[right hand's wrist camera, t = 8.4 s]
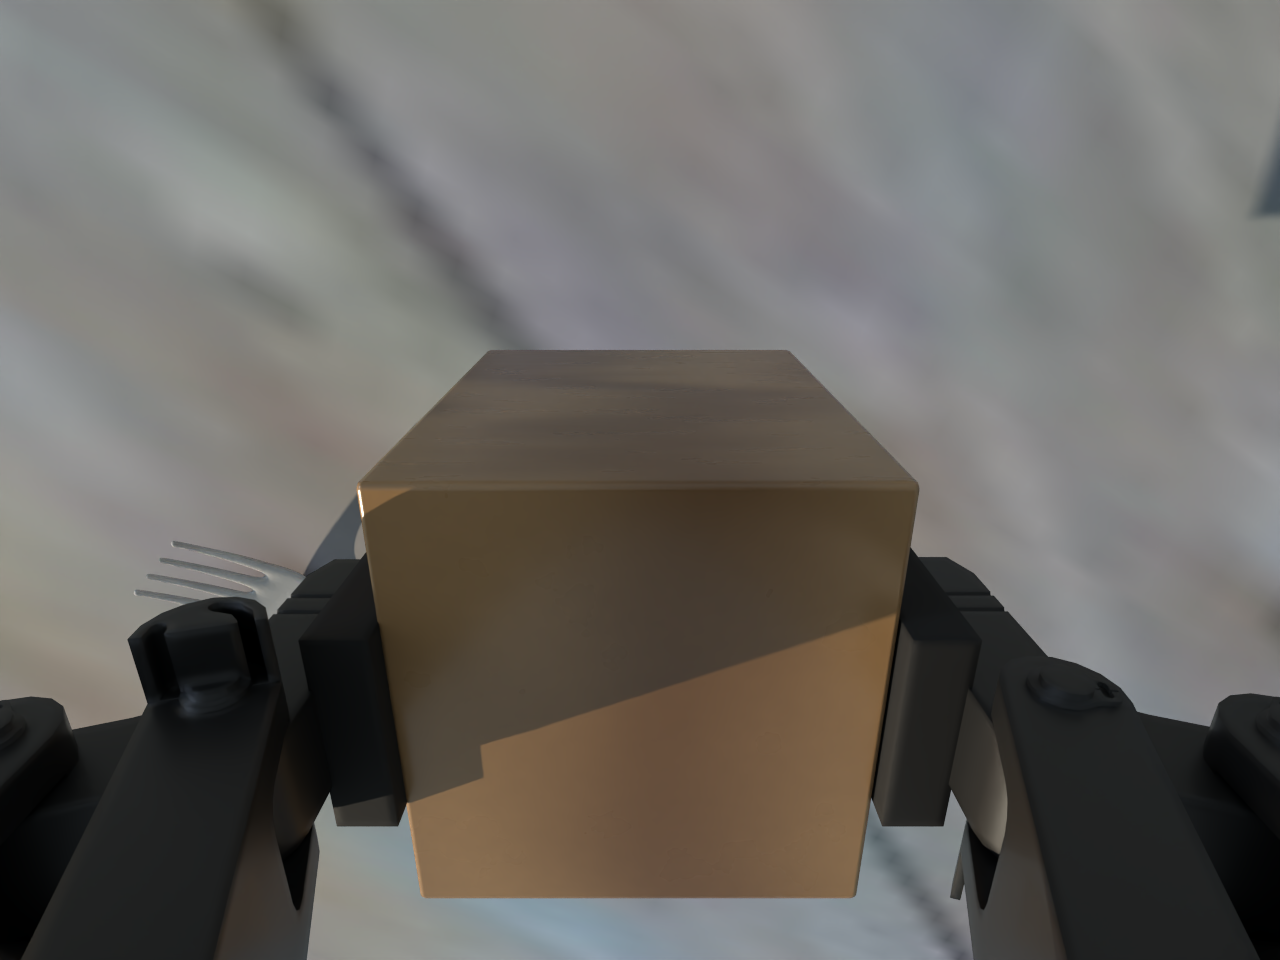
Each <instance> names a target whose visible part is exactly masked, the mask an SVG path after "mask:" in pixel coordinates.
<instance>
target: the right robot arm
mask: <svg viewBox="0 0 1280 960" xmlns="http://www.w3.org/2000/svg"><path fill="white" fill-rule="evenodd" d="M128 643H129V646H130V649H131V652H132V655H133V658H134V662H135V665H136V668H137V671H138V674H139V678H140V681H141V684H142V687H143V690H144V694H145V697H146V700H147V703H148V704H147V706H146V708H145V710H144V712H143V714H142V715H141V716H137V717H134V718H129V719H124V720H119V721H114V722H109V723H104V724H99V725H94V726H89V727H84V728H79V729H74V730H72V729H71V726H70V723H69V721H68V718H67V715H66V713H65V710H64V707H63V706H62V705H60V704H59V703H58V702H56V701H55V700H53V699H51V698H40V697H25V698H18V699H11V700H2V701H0V960H307V952H308V944H309V935H310V927H311V919H312V910H313V902H314V894H315V885H316V877H317V869H318V861H319V845H318V839H317V834H316V829H315V825H314V821H315V819H316V817H317V815H318V813H319V811H320V810H321V808H322V806H323V804H324V802H325V800H326V798H327V796H328V794H329V792H330V795H331V800H332V805H333V809H334V814H335V819H336V824H337V826H398V825H399V823H400V820H401V817H402V815H403V812H404V810H405V807H406V804H407V800H406V793H405V787H404V781H403V774H402V768H401V762H400V756H399V749H398V743H397V737H396V730H395V724H394V718H393V711H392V705H391V699H390V692H389V686H388V680H387V673H386V667H385V661H384V654H383V648H382V642H381V635H380V629H379V623H378V621H377V615H376V609H375V603H374V596H373V590H372V584H371V577H370V571H369V565H368V558H367V552H366V553H365V554H364V556H363V557H362V558H361V559H334V560H333V561H331V562H329V563H328V564H326V565H324V566H323V567H321V568H319V569H318V570H316V571H314V572H312V573H311V574H309V575H307V576H306V578H305V579H304V580H303V581H302V582H301V583H300V584H299V586H298V587H297V588H296V589H295V590H294V591H293V592H292V593H291V598H287V599H286V600H285V601H284V603H283V604H282V605H281V606H280V607H279V608H278V609H277V614H273V615H272V616H271V617H270V618H269V620H268V615H267V611H266V607H265V606H263V605H262V604H260V603H259V602H257V601H256V600H253V599H248V598H242V597H219V598H210V599H206V600H201V601H196V602H192V603H187V604H185V605H182V606H179V607H177V608H174V609H171V610H169V611H166V612H164V613H161V614H160V615H158V616H156V617H155V618H153V619H151V620H149V621H148V622H146V623H144V624H143V625H141V626H140V627H139V628H138V629H137V630H136V631H135V632H134V633H133V634H132V635H131V636H130V637H129V638H128ZM951 790H952V792H953V793H954V795H955V797H956V799H957V801H958V803H959V805H960V807H961V809H962V811H963V813H964V814H965V816H966V818H967V820H966V825H965V829H964V834H963V838H962V843H961V847H960V851H959V856H958V860H957V865H956V869H955V874H954V878H953V883H952V889H951V896H950V898H954V899H958V900H960V898H961V894H962V890H963V886H964V884H965V892H966V900H967V908H968V917H969V925H970V933H971V941H972V950H973V958H974V960H1280V697H1272V696H1265V695H1258V694H1251V693H1250V694H1240V695H1230V696H1229V697H1227V698H1226V699H1224V700H1223V701H1221V702H1220V703H1219V704H1218V706H1217V709H1216V712H1215V714H1214V717H1213V720H1212V723H1211V725H1210V727H1208V726H1203V725H1198V724H1193V723H1188V722H1183V721H1178V720H1173V719H1168V718H1163V717H1158V716H1152V715H1148V714H1144V713H1140V712H1137V711H1136V709H1135V707H1134V705H1133V703H1132V702H1131V700H1130V699H1129V698H1128V697H1127V695H1126V694H1125V693H1124V692H1123V691H1122V689H1121V688H1120V687H1118V686H1117V685H1116V684H1114V683H1113V682H1111V681H1110V680H1108V679H1107V678H1105V677H1104V676H1103V675H1101V674H1099V673H1097V672H1095V671H1092V670H1090V669H1088V668H1086V667H1083V666H1081V665H1079V664H1077V663H1073V662H1069V661H1065V660H1061V659H1057V658H1053V657H1048V656H1047V655H1046V654H1045V653H1044V652H1043V651H1042V650H1041V648H1040V647H1039V646H1038V645H1037V644H1036V643H1035V642H1034V641H1033V639H1032V638H1031V637H1030V636H1029V635H1028V634H1027V633H1026V632H1025V630H1024V629H1023V628H1022V627H1021V626H1020V625H1019V624H1018V623H1017V621H1016V620H1015V619H1014V618H1013V617H1012V616H1011V615H1010V614H1009V612H1005V611H1004V607H1003V606H1002V605H1001V603H1000V602H999V601H998V600H997V599H996V598H995V597H994V596H991V595H990V591H989V590H988V589H987V588H986V586H985V585H984V584H983V583H982V582H981V581H980V580H979V579H978V577H977V576H976V575H975V574H974V573H973V572H971V571H969V570H967V569H966V568H964V567H962V566H961V565H959V564H957V563H955V562H954V561H952V560H950V559H949V558H947V557H918V556H917V555H916V554H915V553H914V551H913V550H912V549H911V547H910V552H909V559H908V565H907V572H906V578H905V584H904V591H903V597H902V604H901V610H900V616H899V623H898V629H897V636H896V642H895V648H894V655H893V661H892V668H891V674H890V680H889V687H888V693H887V699H886V706H885V712H884V719H883V725H882V731H881V738H880V744H879V751H878V757H877V763H876V770H875V776H874V783H873V789H872V795H871V798H872V801H873V803H874V806H875V808H876V811H877V814H878V816H879V819H880V821H881V824H882V826H944V821H945V816H946V812H947V807H948V802H949V797H950V793H951Z"/></svg>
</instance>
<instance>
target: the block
mask: <svg viewBox="0 0 1280 960" xmlns="http://www.w3.org/2000/svg"><path fill="white" fill-rule="evenodd" d="M356 489H357V495H358V502H359V508H360V514H361V521H362V527H363V533H364V540H365V546H366V552H367V558H368V565H369V571H370V577H371V584H372V590H373V596H374V603H375V609H376V615H377V621H378V623H379V629H380V635H381V642H382V648H383V654H384V661H385V667H386V673H387V680H388V686H389V692H390V699H391V705H392V711H393V718H394V724H395V730H396V737H397V743H398V749H399V756H400V762H401V768H402V774H403V781H404V787H405V793H406V800H407V810H408V817H409V823H410V829H411V836H412V842H413V848H414V855H415V861H416V867H417V873H418V880H419V886H420V892H421V896H422V897H424V898H852V897H855V895H856V891H857V885H858V879H859V872H860V866H861V859H862V853H863V847H864V840H865V834H866V827H867V821H868V815H869V808H870V802H871V795H872V789H873V783H874V776H875V770H876V763H877V757H878V751H879V744H880V738H881V731H882V725H883V719H884V712H885V706H886V699H887V693H888V687H889V680H890V674H891V668H892V661H893V655H894V648H895V642H896V636H897V629H898V623H899V616H900V610H901V604H902V597H903V591H904V584H905V578H906V572H907V565H908V559H909V552H910V546H911V540H912V533H913V527H914V520H915V514H916V508H917V501H918V495H919V485H918V482H917V481H916V480H915V479H914V478H913V477H912V476H911V475H910V474H909V473H908V472H907V471H906V470H905V469H904V468H903V467H902V466H901V465H900V464H899V463H898V462H897V461H896V460H895V459H894V458H893V457H892V456H891V455H890V454H889V453H888V452H887V451H886V449H885V448H884V447H883V446H882V445H881V444H880V443H879V442H878V441H877V440H876V439H875V438H874V437H873V436H872V435H871V434H870V433H869V432H868V431H867V430H866V429H865V428H864V427H863V426H862V425H861V424H860V423H859V422H858V421H857V420H856V419H855V418H854V417H853V416H852V415H851V414H850V413H849V412H848V411H847V410H846V409H845V407H844V406H843V405H842V404H841V403H840V402H839V401H838V400H837V399H836V398H835V397H834V396H833V395H832V394H831V393H830V392H829V391H828V390H827V389H826V388H825V387H824V386H823V385H822V384H821V383H820V382H819V381H818V380H817V379H816V378H815V377H814V376H813V375H812V374H811V373H810V372H809V371H808V370H807V369H806V368H805V367H804V365H803V364H802V363H801V362H800V361H799V360H798V359H797V358H796V357H795V356H794V355H793V354H792V353H791V352H790V351H787V350H490V351H488V352H487V353H486V354H485V355H484V356H483V357H482V358H481V359H480V360H479V361H478V362H477V363H476V364H475V365H474V366H473V367H472V368H471V369H470V370H469V371H468V372H467V373H466V374H465V375H464V376H463V377H462V378H461V379H460V380H459V381H458V382H457V383H456V384H455V385H454V386H453V387H452V388H451V389H450V390H449V391H448V392H447V393H446V394H445V395H444V396H443V397H442V398H441V399H440V400H439V401H438V402H437V403H436V404H435V405H434V406H433V408H432V409H431V410H430V411H429V412H428V413H427V414H426V415H425V416H424V417H423V418H422V419H421V420H420V421H419V422H418V423H417V424H416V425H415V426H414V427H413V428H412V429H411V430H410V431H409V432H408V433H407V434H406V435H405V436H404V437H403V438H402V439H401V440H400V441H399V442H398V443H397V444H396V445H395V446H394V447H393V448H392V449H391V450H390V451H389V452H388V453H387V454H386V455H385V456H384V457H383V458H382V459H381V460H380V461H379V462H378V463H377V464H376V465H375V466H374V467H373V468H372V469H371V470H370V471H369V472H368V473H367V474H366V475H365V476H364V477H363V478H362V479H361V480H360V481H359V482H358V485H357V488H356Z"/></svg>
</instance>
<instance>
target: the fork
mask: <svg viewBox="0 0 1280 960" xmlns="http://www.w3.org/2000/svg"><path fill="white" fill-rule="evenodd" d="M171 545H172V546H173V547H178V548H183V549H187V550H191V551H195V552H198V553H202V554H206V555H209V556H213V557H216V558H220V559H223V560H226V561H230V562H233V563H236V564H240V565H243V566H246V567H249V568H252V569H255V570H257V571H260V572H262V573H263V574H264V575H265V576H264V577H253V576H249V575H244V574H240V573H236V572H231V571H227V570H222V569H218V568H213V567H208V566H203V565H199V564H194V563H189V562H183V561H178V560H173V559H166V558H159V562H160V563H164V564H169V565H173V566H178V567H182V568H186V569H189V570H193V571H197V572H201V573H205V574H208V575H212V576H216V577H219V578H223V579H226V580H230V581H233V582H236V583H239V584H242V585H245V586H247V587H249V588H251V589H252V590H253V591H252V592H242V591H237V590H232V589H228V588H223V587H219V586H214V585H209V584H204V583H199V582H194V581H188V580H183V579H178V578H172V577H166V576H160V575H153V574H147V576H146V577H147V578H148V579H150V580H156V581H161V582H165V583H170V584H174V585H178V586H182V587H187V588H191V589H195V590H199V591H202V592H206V593H210V594H214V595H217V596H221V597H242V598H248V599H253V600H256V601H257V602H259V603H260V604H262V605H263V606H265V607H266V611H267V615H268V620H269V618H270V617H271V616H272V615H273V614H277V609H278V608H279V607H280V606H281V605H282V604H283V603H284V601H285V600H286V599H287V598H291V593H292V592H293V591H294V590H295V589H296V588H297V587H298V586H299V584H300V583H301V582H302V581H303V580H304V579H305V578H306V577H305V576H304V575H302V574H300V573H298V572H296V571H293V570H290V569H288V568H284V567H281V566H278V565H274V564H271V563H267V562H264V561H260V560H257V559H253V558H249V557H245V556H241V555H237V554H233V553H228V552H224V551H220V550H215V549H211V548H206V547H201V546H197V545H192V544H187V543H182V542H177V541H172V543H171ZM134 594H135V595H137V596H144V597H150V598H155V599H160V600H164V601H169V602H173V603H178V604H182V605H185V604H187V603H192V602H196V601H201V600H197V599H191V598H186V597H180V596H174V595H169V594H162V593H156V592H150V591H143V590H135V591H134Z"/></svg>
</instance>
